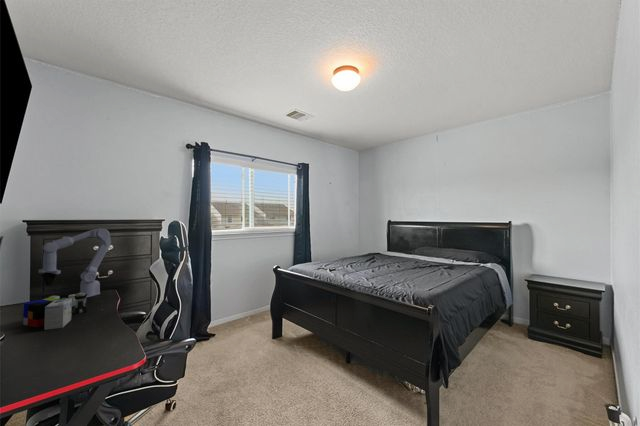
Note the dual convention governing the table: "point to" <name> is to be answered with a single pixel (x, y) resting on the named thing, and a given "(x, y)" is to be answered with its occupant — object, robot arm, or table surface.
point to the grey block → (71, 297)
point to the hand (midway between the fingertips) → (49, 285)
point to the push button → (80, 303)
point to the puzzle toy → (36, 312)
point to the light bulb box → (57, 314)
